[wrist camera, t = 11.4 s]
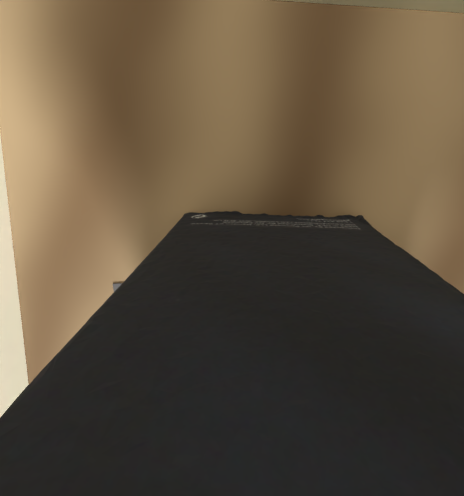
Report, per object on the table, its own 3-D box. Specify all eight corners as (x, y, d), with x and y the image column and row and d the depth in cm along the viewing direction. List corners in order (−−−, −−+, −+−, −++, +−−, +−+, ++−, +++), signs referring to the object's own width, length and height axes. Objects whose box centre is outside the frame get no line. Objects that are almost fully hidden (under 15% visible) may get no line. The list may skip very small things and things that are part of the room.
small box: (170, 206, 12) (-316, 604, 2) (368, 212, 11) (1265, 712, 1) (177, 457, 15) (25, 1144, 5) (334, 465, 14) (535, 1204, 4)
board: (571, 39, 11) (622, 22, 10) (418, 535, 17) (433, 572, 16) (16, 1, 11) (-19, -21, 10) (61, 502, 18) (45, 534, 16)
